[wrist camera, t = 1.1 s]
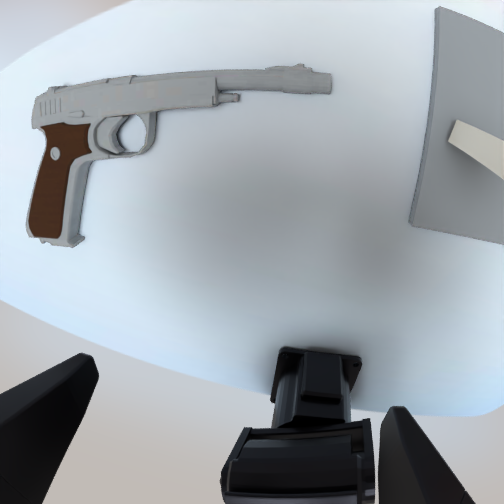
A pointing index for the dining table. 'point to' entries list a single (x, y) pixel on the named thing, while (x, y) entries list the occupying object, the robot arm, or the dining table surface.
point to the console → (470, 112)
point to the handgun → (109, 120)
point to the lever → (479, 146)
